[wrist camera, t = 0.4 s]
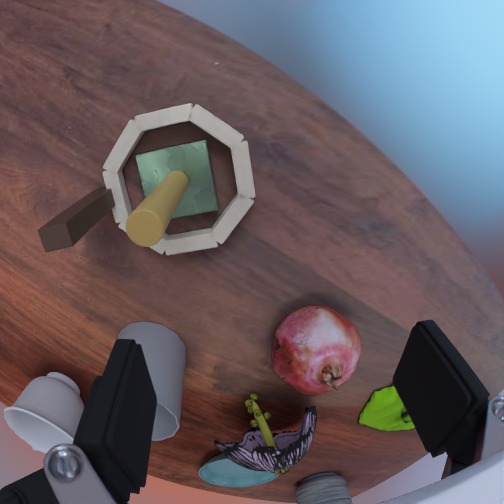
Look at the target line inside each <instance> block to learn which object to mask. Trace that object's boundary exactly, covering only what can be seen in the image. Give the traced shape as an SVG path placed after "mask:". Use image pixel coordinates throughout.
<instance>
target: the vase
mask: <svg viewBox="0 0 504 504" xmlns="http://www.w3.org/2000/svg"><path fill="white" fill-rule="evenodd" d="M295 496H296V502H297V504H353V503H352V500H351V496H350V493H349V489H348V486H347V482H346V480H345V479H344V478H343V477H341V476H338V475H337V474H336V473H333V472H327V473H320V474H316V475H313V476H310V477H308V478H306V479H304V480H302V481H301V483H300V485H299V486H298V488H297V489H296V492H295Z"/></svg>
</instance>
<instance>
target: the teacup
mask: <svg viewBox="0 0 504 504" xmlns="http://www.w3.org/2000/svg"><path fill="white" fill-rule="evenodd" d="M83 410H84V404H83V402H82V400H81V398H80V390H79V388H78V386H77V385H76V383H75V382H74V381H72V380H71V379H70V378H68V377H67V376H65V375H63V374H61V373H57V372H51V373H48V374H47V376H41V377H37V378H35V379H34V380H32V381H31V382H30V383H29V384H28V386H27V387H26V388H25V389H24V391H23V392H22V394H21V395H20V396H19V398H18V399H17V401H16V402H15V403H14V404H13V405H12V406H11V407H7V408H5V410H4V416H5V419H6V421H7V423H8V425H9V426H10V427H11V429H12V430H13V431H14V432H15V433H16V434H17V435H18V436H19V437H20V438H22V439H23V440H24V441H26V442H27V443H28V444H30V445H31V447H32V449H33V450H35V451H42V452H44V453H47V452H48V451H49V450H50V449H51V448H52V447H54V446H55V445H58V444H62V443H69V444H72V443H73V440H74V437H75V434H76V430H77V427H78V424H79V421H80V418H81V415H82V412H83Z"/></svg>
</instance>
